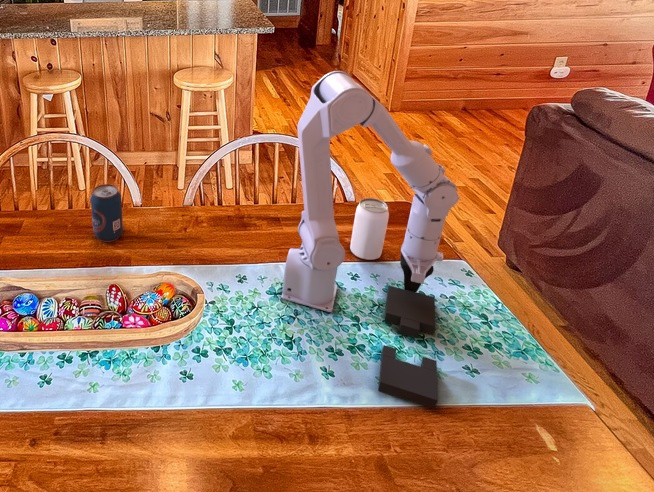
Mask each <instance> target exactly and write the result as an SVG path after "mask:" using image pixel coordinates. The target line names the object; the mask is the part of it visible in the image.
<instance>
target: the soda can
mask: <svg viewBox="0 0 654 492" xmlns="http://www.w3.org/2000/svg"><path fill="white" fill-rule="evenodd" d="M122 205H123V204H122V194H121V193H120V192H119V188H118V187H117V186H116V185H114V184H109V183H106V184H104V183H103V184H100V185H97V186H95V187H94V188H93V190H92V193H91V195H90V208H91V219H92V220H91V221H92V230H93V235H94V236H95V237H96V238H97V240H98V241H101V242H102V243H103V242H104V243H111V242H114V241H117V240H118V239H120V237H121V235H122V234H123V232H124V221H123V220H124V219H123V206H122Z"/></svg>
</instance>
